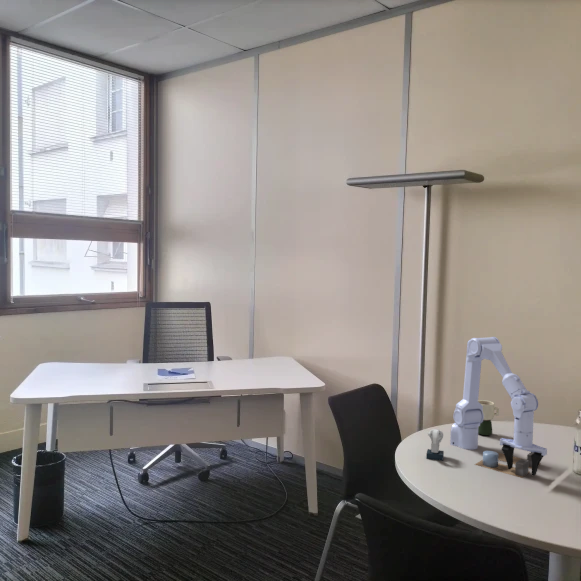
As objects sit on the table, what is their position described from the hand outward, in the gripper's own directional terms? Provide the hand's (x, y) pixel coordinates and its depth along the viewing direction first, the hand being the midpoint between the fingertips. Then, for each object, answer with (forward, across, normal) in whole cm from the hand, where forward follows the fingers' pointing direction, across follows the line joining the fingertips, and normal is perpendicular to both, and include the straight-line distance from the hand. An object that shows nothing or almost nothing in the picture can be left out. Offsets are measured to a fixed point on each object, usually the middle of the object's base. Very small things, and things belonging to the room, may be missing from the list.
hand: (521, 471), depth 182 cm
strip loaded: (+2, -7, 0) cm, 7 cm away
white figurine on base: (+2, -28, -7) cm, 29 cm away
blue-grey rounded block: (+1, -11, 0) cm, 11 cm away
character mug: (+2, -28, +33) cm, 43 cm away
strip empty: (+2, -7, +10) cm, 12 cm away
